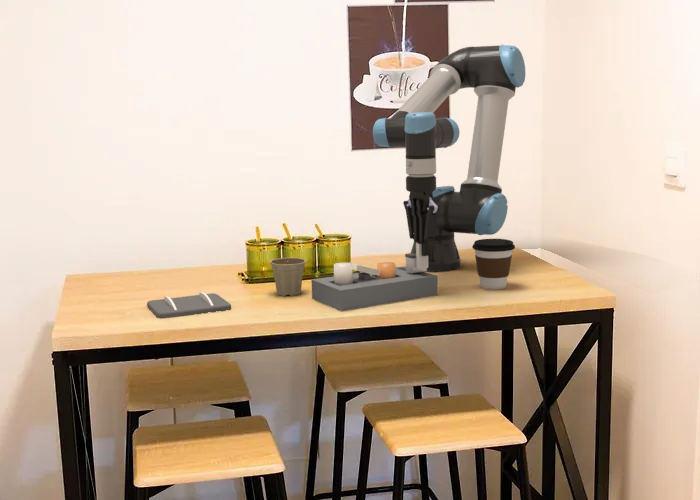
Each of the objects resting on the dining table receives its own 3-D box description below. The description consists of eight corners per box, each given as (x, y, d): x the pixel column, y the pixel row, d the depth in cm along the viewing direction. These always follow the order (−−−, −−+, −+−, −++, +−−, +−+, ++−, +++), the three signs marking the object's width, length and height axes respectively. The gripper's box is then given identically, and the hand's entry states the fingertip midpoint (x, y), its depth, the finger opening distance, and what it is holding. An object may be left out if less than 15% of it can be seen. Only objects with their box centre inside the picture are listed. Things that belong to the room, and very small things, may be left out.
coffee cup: (519, 284, 242) (519, 239, 240) (508, 293, 233) (508, 246, 230) (479, 281, 247) (479, 237, 245) (466, 290, 237) (466, 244, 235)
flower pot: (312, 290, 241) (311, 258, 240) (299, 298, 232) (298, 265, 231) (279, 288, 244) (278, 256, 243) (265, 296, 235) (263, 263, 234)
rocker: (347, 267, 229) (348, 262, 229) (370, 272, 233) (371, 267, 233) (356, 270, 225) (357, 264, 225) (379, 275, 229) (380, 270, 229)
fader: (405, 271, 235) (405, 254, 234) (420, 269, 238) (420, 251, 237) (412, 273, 233) (412, 255, 232) (427, 271, 235) (427, 253, 234)
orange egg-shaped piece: (374, 286, 234) (373, 263, 233) (389, 284, 236) (389, 261, 235) (383, 290, 230) (383, 266, 229) (399, 287, 232) (398, 264, 231)
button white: (331, 287, 228) (330, 263, 227) (347, 285, 230) (346, 261, 229) (340, 291, 224) (339, 266, 223) (356, 288, 226) (355, 264, 225)
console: (312, 298, 232) (311, 274, 230) (405, 284, 245) (404, 261, 244) (341, 310, 219) (340, 284, 218) (437, 295, 232) (437, 270, 231)
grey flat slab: (215, 287, 236) (232, 298, 222) (216, 299, 237) (232, 311, 223) (145, 295, 229) (158, 307, 215) (146, 307, 230) (158, 321, 216)
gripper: (393, 174, 232) (395, 265, 237) (423, 178, 221) (424, 274, 226) (418, 172, 236) (419, 262, 240) (448, 176, 225) (449, 270, 229)
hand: (422, 267), depth 233 cm, fingers closed
